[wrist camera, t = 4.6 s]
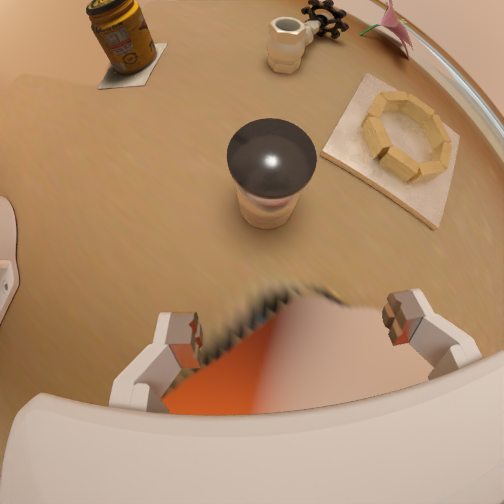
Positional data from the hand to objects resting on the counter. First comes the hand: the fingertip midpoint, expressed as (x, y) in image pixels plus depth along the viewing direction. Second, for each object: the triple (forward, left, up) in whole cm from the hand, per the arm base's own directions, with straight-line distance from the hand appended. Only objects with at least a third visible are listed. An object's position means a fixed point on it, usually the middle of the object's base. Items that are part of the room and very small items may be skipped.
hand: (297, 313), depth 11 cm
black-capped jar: (+7, +5, -12) cm, 15 cm away
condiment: (+16, +30, -13) cm, 36 cm away
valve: (+28, +12, -13) cm, 33 cm away
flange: (+21, -4, -12) cm, 25 cm away
